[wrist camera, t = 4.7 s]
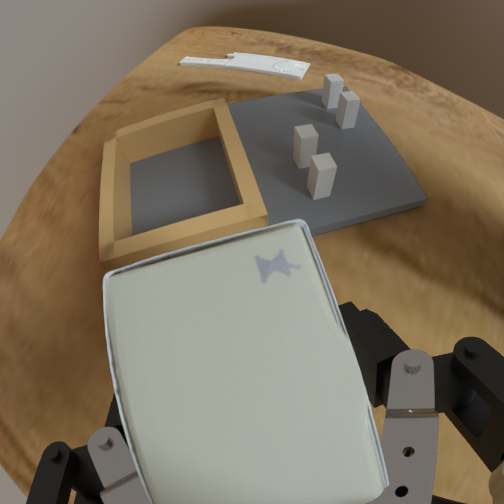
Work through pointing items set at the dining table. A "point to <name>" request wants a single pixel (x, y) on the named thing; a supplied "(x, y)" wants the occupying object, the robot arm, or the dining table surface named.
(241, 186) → the board
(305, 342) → the skincare box
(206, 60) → the white plastic strip tool
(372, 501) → the robot arm
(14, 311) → the dining table surface
